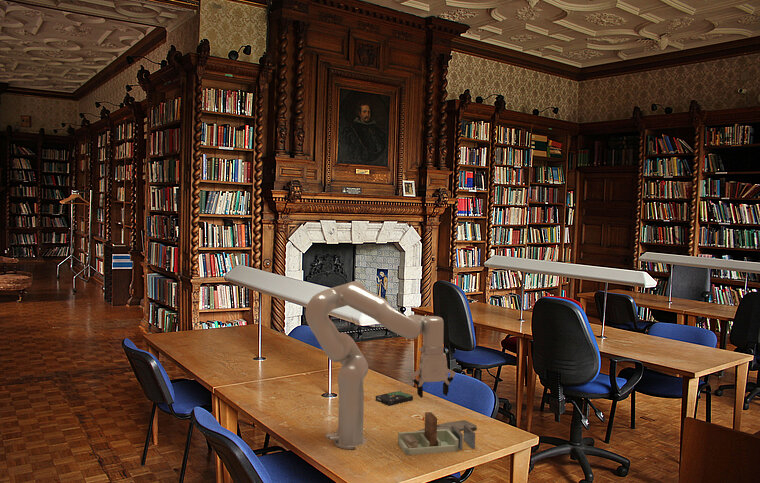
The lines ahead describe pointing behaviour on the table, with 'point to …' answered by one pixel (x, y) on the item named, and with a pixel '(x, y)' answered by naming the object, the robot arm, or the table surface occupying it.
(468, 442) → the stand
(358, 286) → the robot arm
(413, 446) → the offcut lower
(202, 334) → the table surface
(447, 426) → the stone slab
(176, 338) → the table surface
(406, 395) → the disk drive
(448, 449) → the tray
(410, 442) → the offcut upper
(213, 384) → the table surface
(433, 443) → the walnut board
